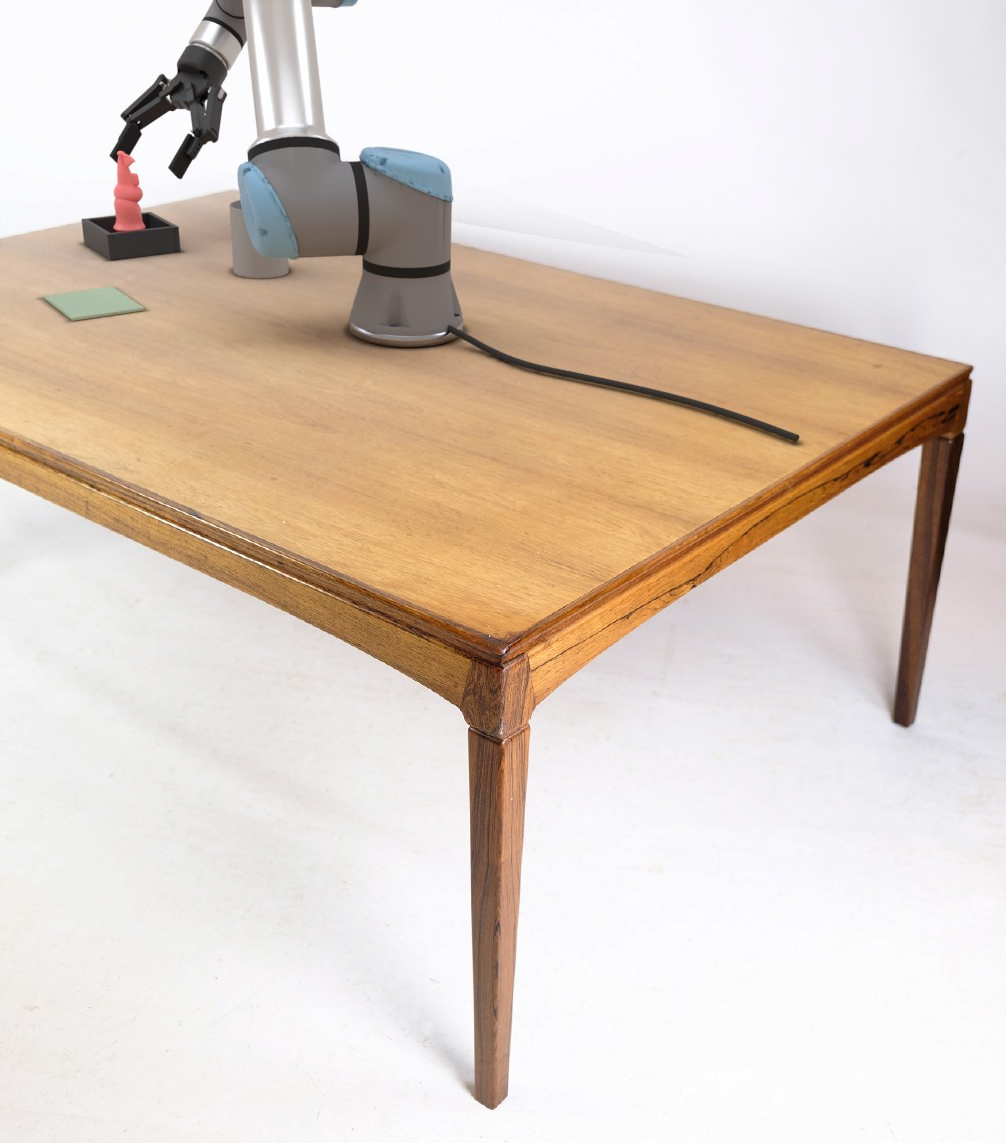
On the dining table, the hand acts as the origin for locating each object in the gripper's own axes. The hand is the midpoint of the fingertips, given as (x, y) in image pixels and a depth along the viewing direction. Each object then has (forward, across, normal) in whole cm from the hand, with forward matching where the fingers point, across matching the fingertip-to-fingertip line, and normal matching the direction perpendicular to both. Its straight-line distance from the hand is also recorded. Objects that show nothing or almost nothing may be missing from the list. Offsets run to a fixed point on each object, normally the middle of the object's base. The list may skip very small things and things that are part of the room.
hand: (144, 167), depth 205 cm
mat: (+28, -20, +12) cm, 37 cm away
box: (+11, 0, -6) cm, 13 cm away
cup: (+9, -25, -8) cm, 28 cm away
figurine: (+12, 0, -6) cm, 13 cm away
